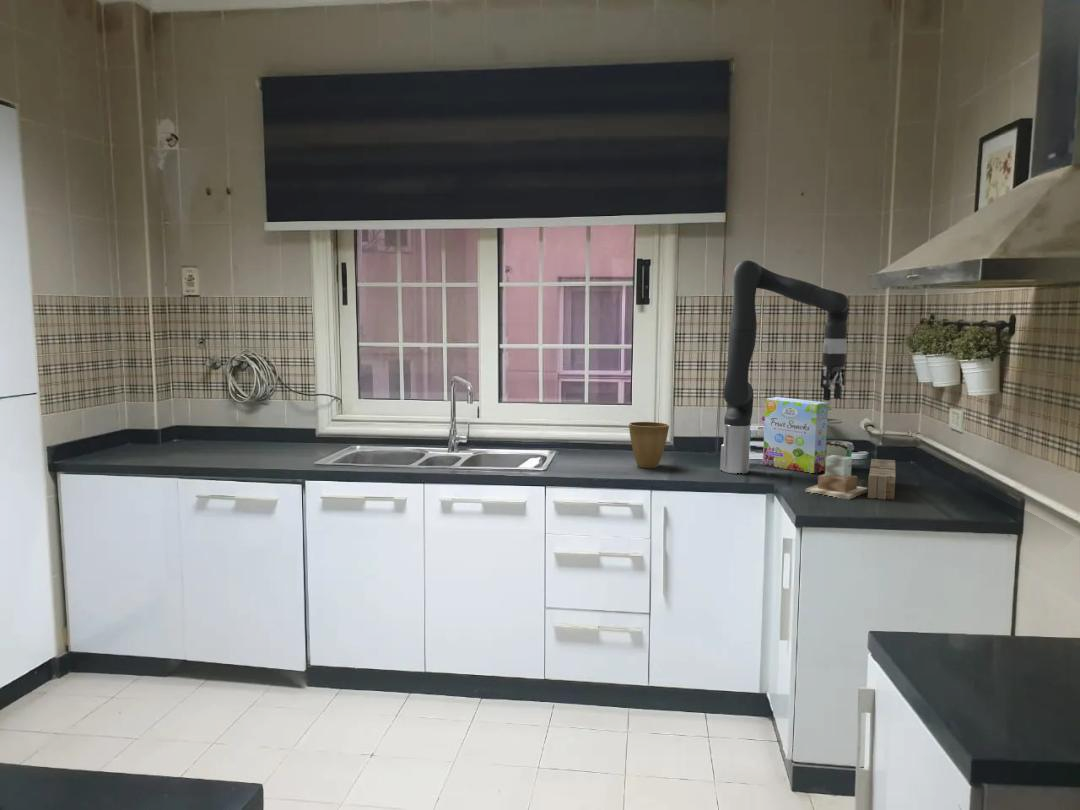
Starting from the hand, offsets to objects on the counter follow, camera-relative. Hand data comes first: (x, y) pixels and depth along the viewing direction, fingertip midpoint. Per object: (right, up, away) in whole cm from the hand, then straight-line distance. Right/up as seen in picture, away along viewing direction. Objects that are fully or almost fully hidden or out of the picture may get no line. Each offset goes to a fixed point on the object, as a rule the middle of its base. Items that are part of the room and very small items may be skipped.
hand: (832, 399), depth 268 cm
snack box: (-6, -26, +23) cm, 35 cm away
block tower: (+12, -30, -11) cm, 34 cm away
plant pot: (-60, -25, +25) cm, 69 cm away
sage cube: (-4, -25, -16) cm, 29 cm away
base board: (-4, -30, -15) cm, 34 cm away
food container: (+13, -26, +24) cm, 37 cm away
